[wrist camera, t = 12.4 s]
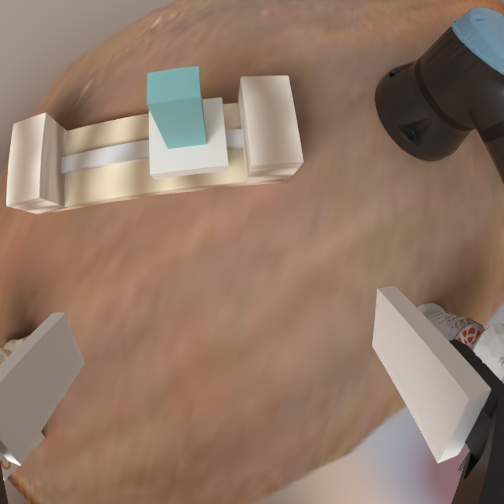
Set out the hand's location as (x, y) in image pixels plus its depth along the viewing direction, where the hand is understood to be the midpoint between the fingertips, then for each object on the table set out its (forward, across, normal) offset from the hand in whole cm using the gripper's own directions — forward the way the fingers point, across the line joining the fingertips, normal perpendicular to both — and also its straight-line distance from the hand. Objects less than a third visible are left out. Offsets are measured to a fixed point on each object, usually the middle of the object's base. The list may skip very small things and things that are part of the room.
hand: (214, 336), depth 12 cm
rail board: (+27, -10, +8) cm, 30 cm away
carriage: (+25, -4, +9) cm, 27 cm away
